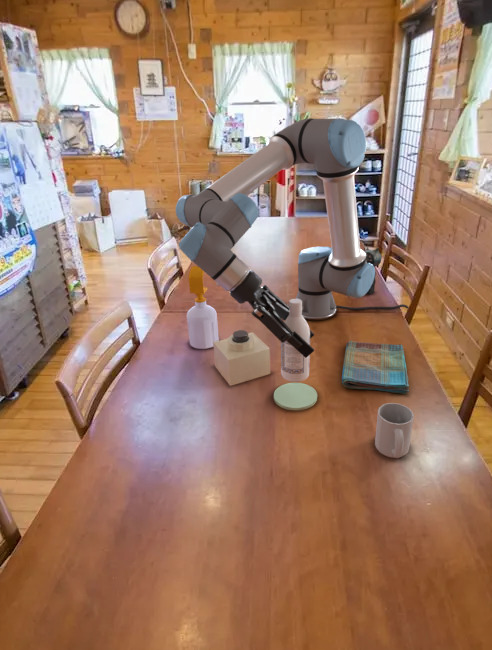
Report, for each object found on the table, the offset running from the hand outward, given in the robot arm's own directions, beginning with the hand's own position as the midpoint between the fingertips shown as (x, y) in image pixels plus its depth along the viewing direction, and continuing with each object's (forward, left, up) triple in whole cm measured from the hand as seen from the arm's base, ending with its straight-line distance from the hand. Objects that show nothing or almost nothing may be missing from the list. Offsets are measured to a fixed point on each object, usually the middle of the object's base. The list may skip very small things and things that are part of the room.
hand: (310, 345), depth 108 cm
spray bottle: (+23, -36, -15) cm, 46 cm away
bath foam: (+3, -1, -9) cm, 9 cm away
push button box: (+14, -17, -15) cm, 27 cm away
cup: (-12, +23, -15) cm, 30 cm away
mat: (+3, -1, -15) cm, 15 cm away
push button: (+14, -17, -5) cm, 23 cm away
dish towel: (-22, -9, -15) cm, 28 cm away
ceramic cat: (-38, -66, -15) cm, 78 cm away
